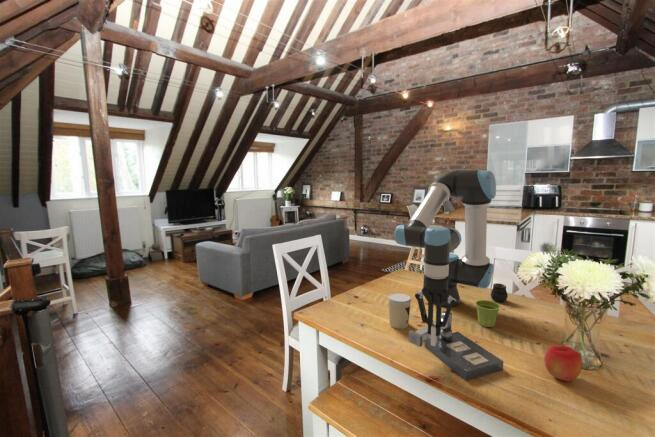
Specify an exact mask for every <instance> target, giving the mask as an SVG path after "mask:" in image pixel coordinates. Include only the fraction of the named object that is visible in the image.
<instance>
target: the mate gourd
mask: <svg viewBox="0 0 655 437" xmlns="http://www.w3.org/2000/svg"><path fill="white" fill-rule="evenodd" d="M492 285H493V286H492V288H491V291H490V298H491V299H492V300H493V302H495V303H504V302H506V301H507V299H508V292H507V286H506V284H504V283H500V282H499V283H498V282H497V283H496V282H495V283H493V284H492Z"/></svg>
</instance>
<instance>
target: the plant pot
mask: <svg viewBox="0 0 655 437" xmlns="http://www.w3.org/2000/svg"><path fill="white" fill-rule="evenodd" d="M474 305H475V307H476V311H477V323H478V324H479V325H480V326H482V327H485V328H490V327H491V328H494V327H495V326H496V322H497V321H496V320H497V316H498V314H499V313H498V312H499V310H500V309H501V305H500V304H498V302H496V301H490V300H487V299H486V300H484V299H482V300H481V299H480V300H476V301H475V302H474Z"/></svg>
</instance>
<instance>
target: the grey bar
mask: <svg viewBox="0 0 655 437" xmlns="http://www.w3.org/2000/svg"><path fill="white" fill-rule="evenodd" d="M445 313H446V310H444V311H441V321H443V319H444V316H445ZM452 318H453V314H452V312H450V315H449V318H448V321H447V324H446V326H445V327H441V329H440V331H441V330H443V331H447V332H449V331H451V330H452V323H453V322H452V321H453V319H452ZM433 323H434V324H436V320H434V321H433ZM428 338H431V335H430V334H428V324H426V325H425V326H424V327H422V328H420V329H417V330H416V331H415V330H412V329H410V330H408V342H409V343H411V344H413V345H415V346H417V347H420V348H421V347H422V346H423V342H425V340H426V339H428Z"/></svg>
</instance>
